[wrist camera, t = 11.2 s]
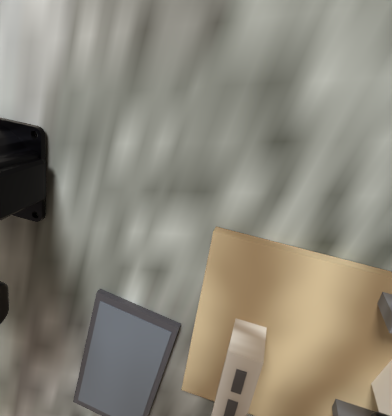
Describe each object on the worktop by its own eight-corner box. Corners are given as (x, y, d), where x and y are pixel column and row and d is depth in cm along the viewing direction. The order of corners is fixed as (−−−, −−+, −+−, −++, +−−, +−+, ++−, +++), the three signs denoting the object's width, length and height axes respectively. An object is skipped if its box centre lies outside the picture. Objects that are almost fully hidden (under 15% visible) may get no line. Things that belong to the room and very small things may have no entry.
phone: (79, 392, 30) (72, 402, 29) (103, 285, 26) (96, 292, 25) (145, 423, 29) (140, 435, 28) (183, 319, 25) (178, 328, 24)
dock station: (184, 381, 26) (167, 429, 22) (215, 226, 21) (200, 255, 17) (452, 473, 23) (482, 546, 19) (561, 315, 18) (630, 373, 14)
